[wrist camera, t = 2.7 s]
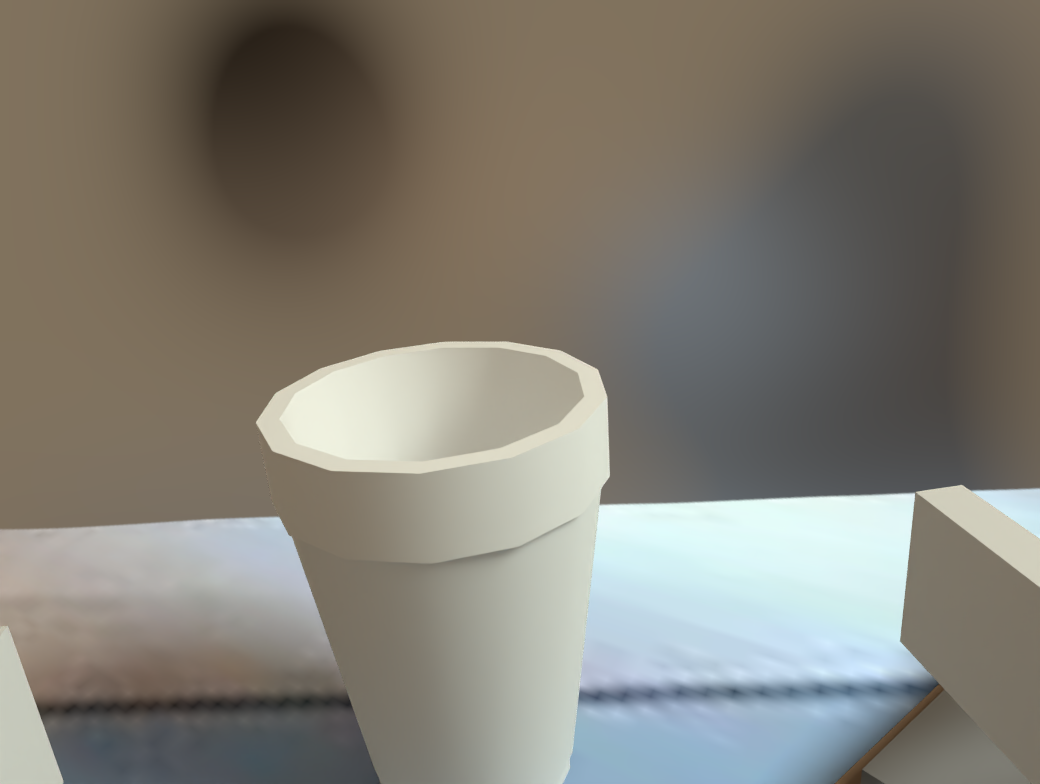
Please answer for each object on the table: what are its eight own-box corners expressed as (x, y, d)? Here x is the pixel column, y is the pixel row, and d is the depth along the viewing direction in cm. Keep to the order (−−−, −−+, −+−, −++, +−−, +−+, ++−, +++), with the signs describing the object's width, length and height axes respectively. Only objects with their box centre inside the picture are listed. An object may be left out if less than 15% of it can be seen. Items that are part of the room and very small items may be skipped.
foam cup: (272, 789, 27) (186, 421, 22) (458, 634, 34) (423, 327, 29) (502, 953, 21) (453, 512, 17) (669, 728, 28) (669, 369, 23)
